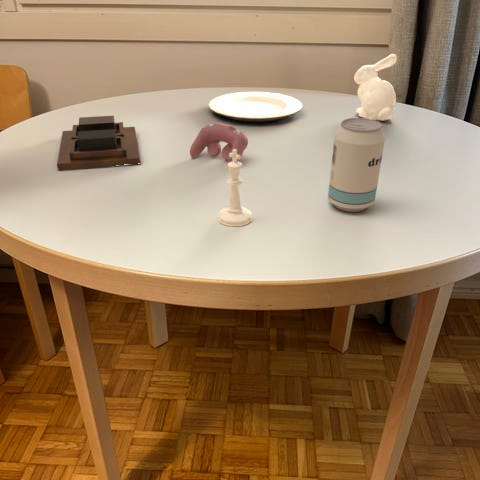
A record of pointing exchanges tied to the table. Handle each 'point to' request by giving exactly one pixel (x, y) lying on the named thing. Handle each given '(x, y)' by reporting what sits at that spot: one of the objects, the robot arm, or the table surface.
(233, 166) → the chess piece
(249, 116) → the plate
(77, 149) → the brown stepped block
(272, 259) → the table surface
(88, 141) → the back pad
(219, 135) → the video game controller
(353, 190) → the beverage can
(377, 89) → the rabbit
